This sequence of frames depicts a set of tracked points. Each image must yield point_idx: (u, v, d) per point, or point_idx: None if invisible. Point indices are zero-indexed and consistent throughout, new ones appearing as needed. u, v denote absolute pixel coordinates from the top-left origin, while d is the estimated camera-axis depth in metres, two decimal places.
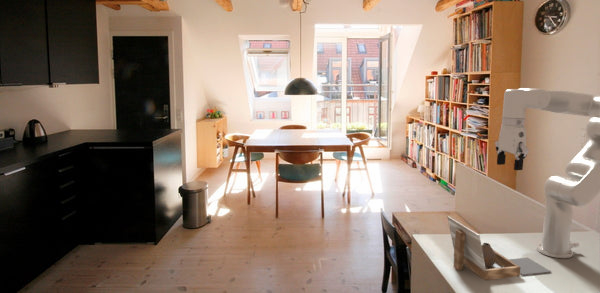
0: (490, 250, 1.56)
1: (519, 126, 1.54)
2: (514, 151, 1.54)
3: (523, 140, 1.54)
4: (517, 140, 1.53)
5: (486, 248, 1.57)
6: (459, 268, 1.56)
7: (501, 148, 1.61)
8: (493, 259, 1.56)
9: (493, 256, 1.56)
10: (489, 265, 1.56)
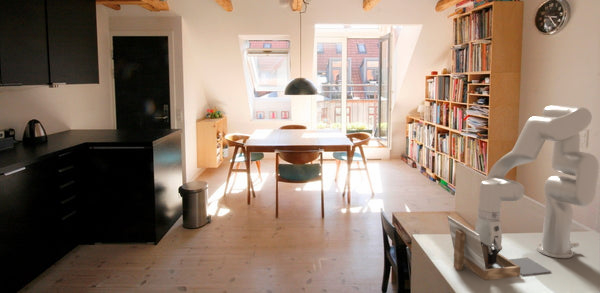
0: None
1: (494, 220, 1.53)
2: (489, 245, 1.53)
3: (498, 234, 1.52)
4: (492, 234, 1.52)
5: (486, 248, 1.57)
6: (459, 268, 1.56)
7: None
8: None
9: None
10: (489, 265, 1.56)
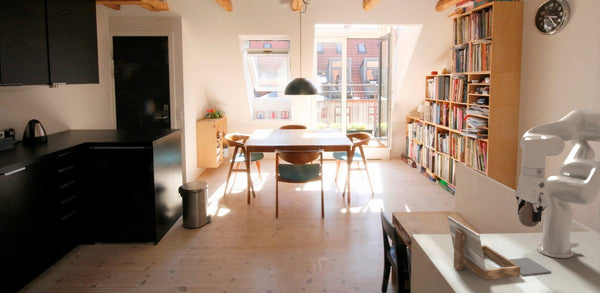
0: None
1: (539, 176, 1.49)
2: (534, 202, 1.49)
3: (544, 191, 1.49)
4: (538, 191, 1.48)
5: (530, 206, 1.53)
6: (459, 268, 1.56)
7: (520, 196, 1.56)
8: None
9: None
10: (533, 223, 1.52)
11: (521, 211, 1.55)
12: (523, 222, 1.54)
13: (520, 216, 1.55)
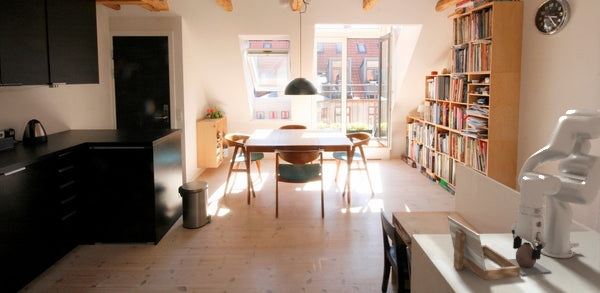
0: (531, 250, 1.55)
1: (537, 215, 1.51)
2: (532, 241, 1.52)
3: (541, 230, 1.51)
4: (535, 230, 1.51)
5: (527, 248, 1.56)
6: (459, 268, 1.56)
7: (518, 234, 1.58)
8: None
9: None
10: (530, 265, 1.55)
11: (518, 252, 1.57)
12: (520, 263, 1.57)
13: (517, 257, 1.57)
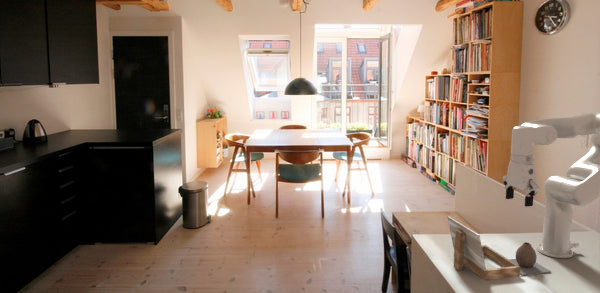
0: (531, 250, 1.55)
1: (528, 163, 1.55)
2: (524, 188, 1.56)
3: (533, 177, 1.55)
4: (527, 177, 1.55)
5: (527, 248, 1.56)
6: (459, 268, 1.56)
7: (510, 183, 1.62)
8: (534, 259, 1.55)
9: (534, 256, 1.55)
10: (530, 265, 1.55)
11: (518, 252, 1.57)
12: (520, 263, 1.57)
13: (517, 257, 1.58)
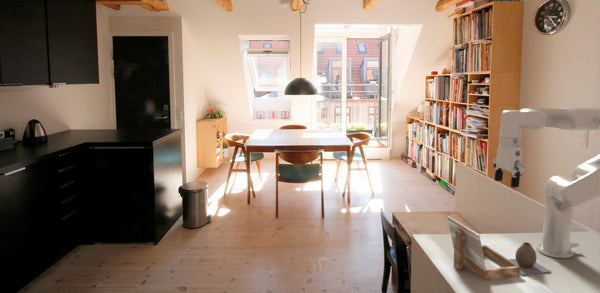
0: (531, 250, 1.55)
1: (515, 145, 1.62)
2: (511, 169, 1.62)
3: (519, 159, 1.62)
4: (514, 159, 1.61)
5: (527, 248, 1.56)
6: (459, 268, 1.56)
7: (499, 165, 1.69)
8: (534, 259, 1.55)
9: (534, 256, 1.55)
10: (530, 265, 1.55)
11: (518, 252, 1.57)
12: (520, 263, 1.57)
13: (517, 257, 1.58)
